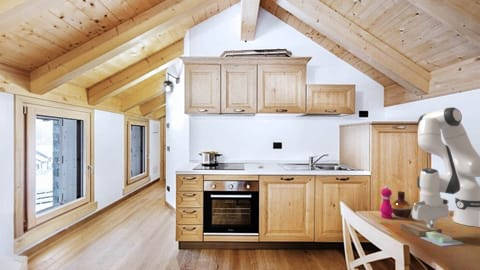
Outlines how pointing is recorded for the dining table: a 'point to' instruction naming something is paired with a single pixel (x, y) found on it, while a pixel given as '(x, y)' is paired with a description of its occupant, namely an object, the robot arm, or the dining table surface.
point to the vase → (401, 206)
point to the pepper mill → (386, 204)
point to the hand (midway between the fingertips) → (430, 227)
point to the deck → (418, 229)
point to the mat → (442, 243)
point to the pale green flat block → (438, 236)
